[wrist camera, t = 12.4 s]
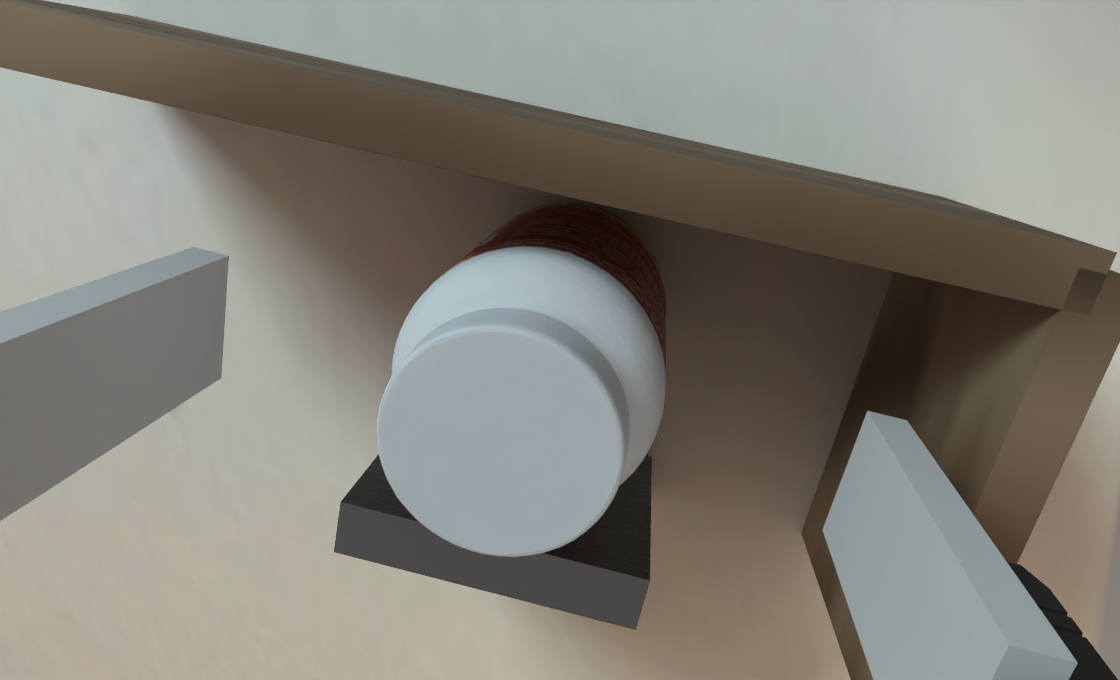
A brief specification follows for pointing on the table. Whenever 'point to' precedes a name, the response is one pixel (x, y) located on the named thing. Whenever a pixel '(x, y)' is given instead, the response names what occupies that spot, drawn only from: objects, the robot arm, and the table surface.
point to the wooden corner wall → (713, 203)
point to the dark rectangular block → (545, 579)
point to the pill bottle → (527, 383)
